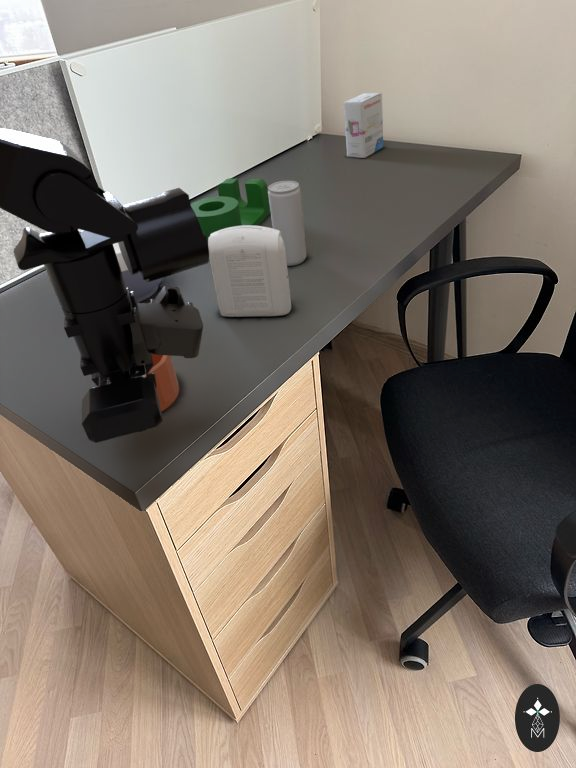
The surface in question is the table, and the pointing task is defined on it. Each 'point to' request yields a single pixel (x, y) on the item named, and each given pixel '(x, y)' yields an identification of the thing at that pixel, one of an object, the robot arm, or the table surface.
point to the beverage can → (288, 219)
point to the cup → (164, 380)
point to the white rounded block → (250, 271)
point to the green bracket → (233, 206)
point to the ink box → (364, 124)
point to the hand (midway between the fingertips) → (142, 429)
